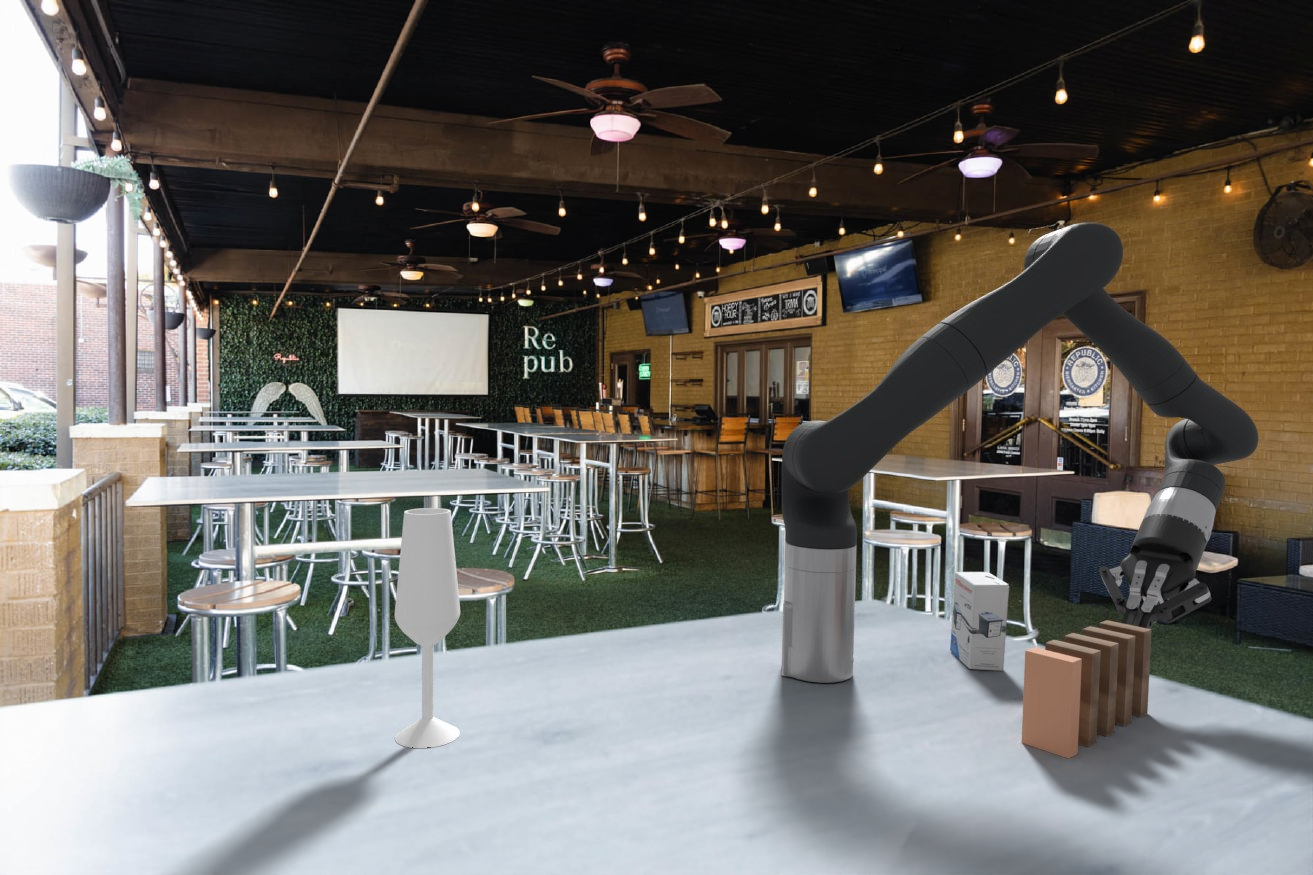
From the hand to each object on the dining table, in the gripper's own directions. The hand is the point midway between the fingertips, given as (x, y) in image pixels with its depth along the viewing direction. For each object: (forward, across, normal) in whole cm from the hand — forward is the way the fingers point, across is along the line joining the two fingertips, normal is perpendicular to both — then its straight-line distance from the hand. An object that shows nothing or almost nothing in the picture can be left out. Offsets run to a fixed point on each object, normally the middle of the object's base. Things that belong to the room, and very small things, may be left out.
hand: (1130, 641), depth 103 cm
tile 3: (+13, 0, -2) cm, 13 cm away
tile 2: (+10, 0, +1) cm, 10 cm away
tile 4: (+16, 0, -5) cm, 17 cm away
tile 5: (+20, 0, -9) cm, 21 cm away
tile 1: (+7, 0, +4) cm, 8 cm away
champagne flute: (+55, -43, -43) cm, 82 cm away
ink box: (+5, -20, +7) cm, 22 cm away
